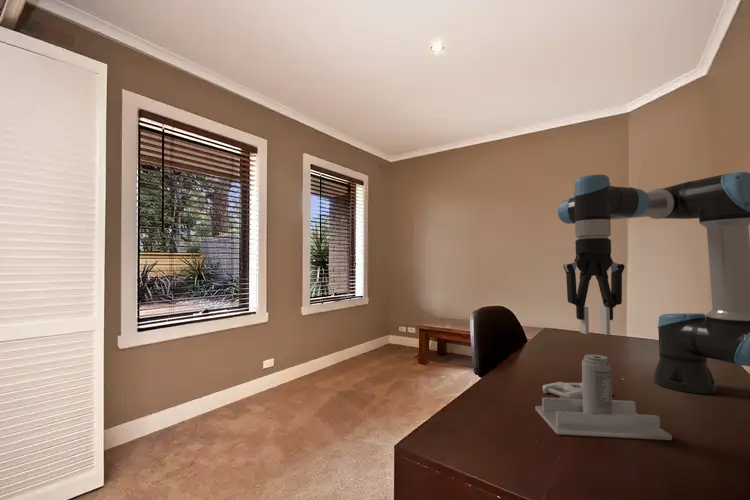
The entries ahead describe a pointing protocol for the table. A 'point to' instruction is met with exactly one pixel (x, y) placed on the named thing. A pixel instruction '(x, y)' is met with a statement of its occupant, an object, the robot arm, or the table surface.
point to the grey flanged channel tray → (600, 420)
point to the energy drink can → (596, 384)
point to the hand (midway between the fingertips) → (594, 333)
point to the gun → (564, 389)
